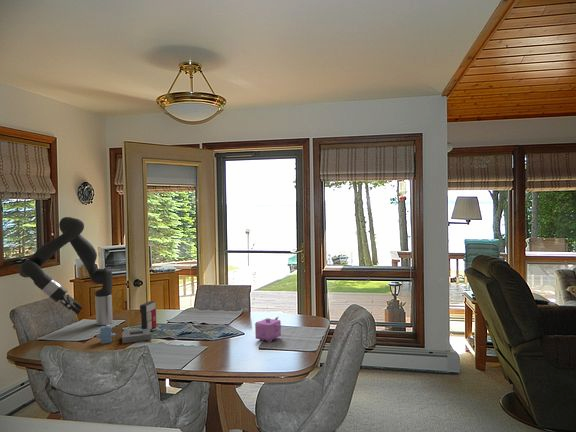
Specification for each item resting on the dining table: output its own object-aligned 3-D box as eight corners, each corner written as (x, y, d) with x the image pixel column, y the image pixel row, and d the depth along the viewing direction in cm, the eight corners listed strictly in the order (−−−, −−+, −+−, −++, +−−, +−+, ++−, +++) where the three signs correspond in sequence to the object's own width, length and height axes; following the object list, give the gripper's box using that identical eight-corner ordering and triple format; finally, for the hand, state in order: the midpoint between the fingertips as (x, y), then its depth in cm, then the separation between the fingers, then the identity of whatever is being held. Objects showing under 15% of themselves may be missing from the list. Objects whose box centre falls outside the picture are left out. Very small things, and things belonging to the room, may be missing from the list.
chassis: (122, 337, 242) (122, 331, 241) (149, 333, 246) (149, 328, 246) (122, 343, 230) (122, 337, 230) (150, 339, 235) (150, 334, 235)
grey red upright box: (147, 332, 250) (146, 305, 249) (140, 331, 251) (139, 305, 250) (157, 326, 260) (156, 301, 260) (150, 326, 261) (149, 301, 261)
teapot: (283, 343, 224) (283, 321, 223) (257, 345, 221) (256, 323, 221) (279, 334, 239) (278, 314, 238) (254, 336, 236) (253, 316, 236)
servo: (97, 342, 234) (96, 325, 233) (115, 339, 237) (115, 323, 236) (96, 344, 230) (95, 327, 230) (115, 342, 233) (114, 325, 233)
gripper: (58, 287, 220) (84, 308, 224) (62, 282, 233) (87, 302, 237) (46, 298, 218) (73, 319, 222) (51, 294, 231) (76, 313, 235)
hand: (80, 311), depth 229 cm, fingers open, 8 cm apart
